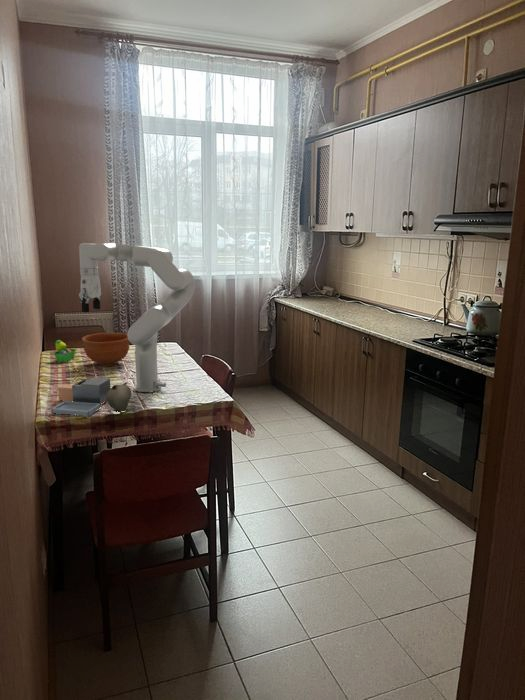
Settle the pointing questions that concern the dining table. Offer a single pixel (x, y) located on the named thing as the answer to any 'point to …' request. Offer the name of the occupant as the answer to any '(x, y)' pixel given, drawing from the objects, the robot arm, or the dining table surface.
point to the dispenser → (91, 390)
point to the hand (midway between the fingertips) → (91, 310)
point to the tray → (76, 408)
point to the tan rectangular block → (65, 392)
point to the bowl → (106, 347)
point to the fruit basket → (63, 352)
